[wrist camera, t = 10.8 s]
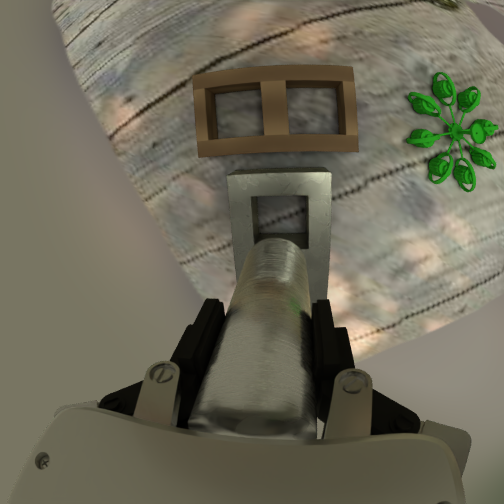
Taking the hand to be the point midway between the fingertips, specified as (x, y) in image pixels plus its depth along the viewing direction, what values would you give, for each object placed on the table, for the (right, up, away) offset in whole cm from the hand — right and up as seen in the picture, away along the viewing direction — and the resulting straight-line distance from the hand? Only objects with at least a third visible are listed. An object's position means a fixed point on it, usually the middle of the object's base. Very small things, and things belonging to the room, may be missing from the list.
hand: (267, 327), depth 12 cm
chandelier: (+24, +18, +12) cm, 32 cm away
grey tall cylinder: (+1, +3, +6) cm, 6 cm away
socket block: (+3, +5, +21) cm, 22 cm away
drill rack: (+2, +19, +15) cm, 24 cm away
